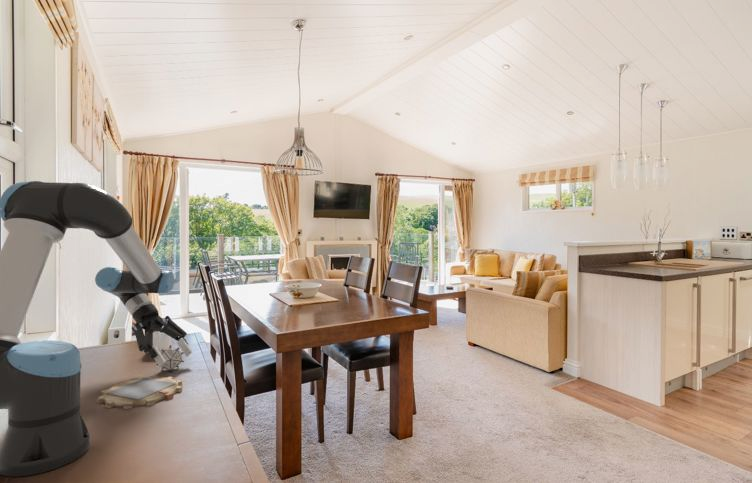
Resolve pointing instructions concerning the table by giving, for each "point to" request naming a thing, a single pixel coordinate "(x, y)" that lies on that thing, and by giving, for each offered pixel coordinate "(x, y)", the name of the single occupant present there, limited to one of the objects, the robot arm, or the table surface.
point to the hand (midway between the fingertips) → (176, 359)
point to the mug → (161, 340)
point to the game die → (171, 358)
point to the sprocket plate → (140, 392)
